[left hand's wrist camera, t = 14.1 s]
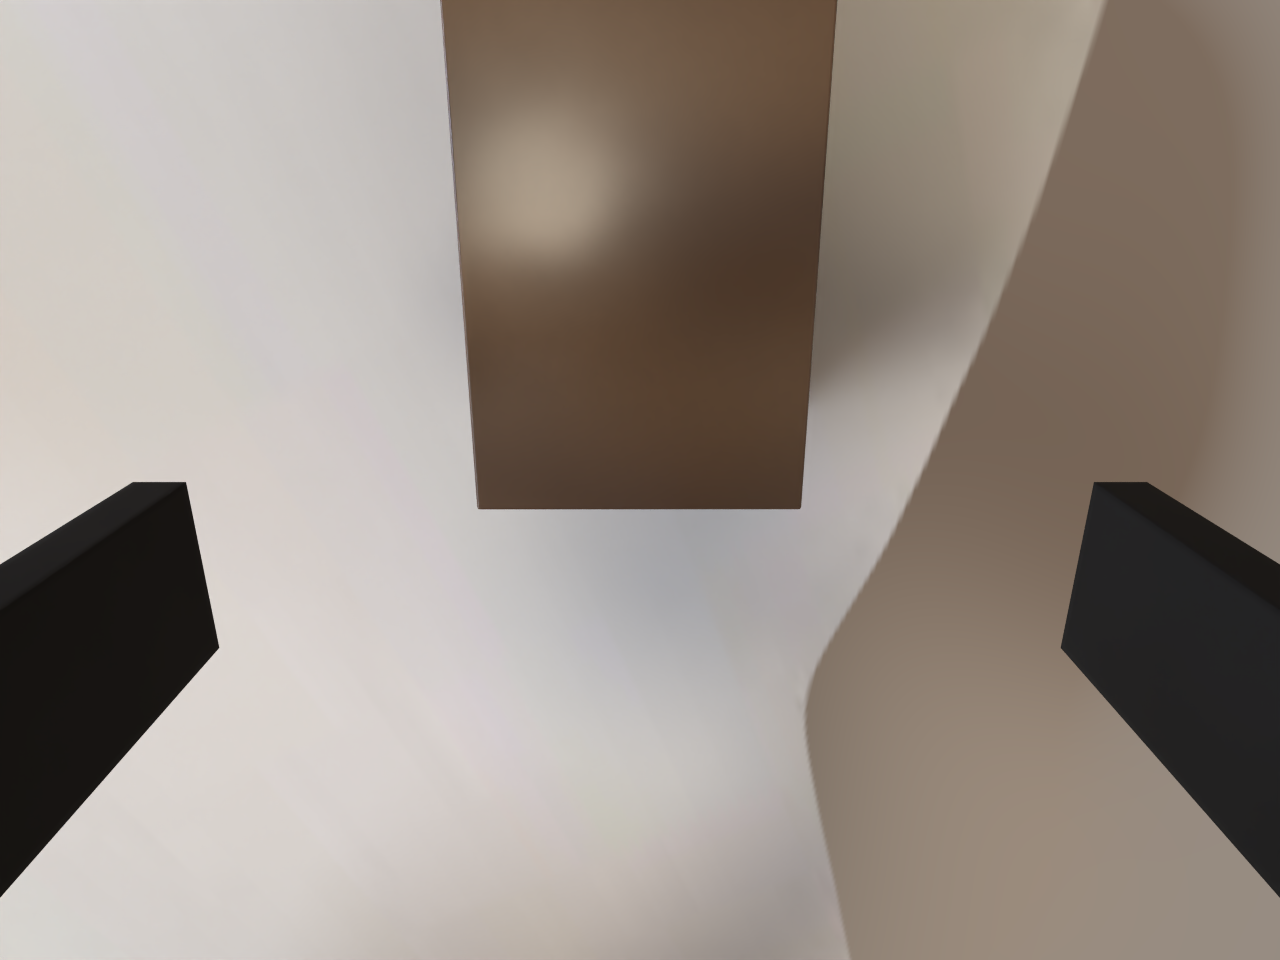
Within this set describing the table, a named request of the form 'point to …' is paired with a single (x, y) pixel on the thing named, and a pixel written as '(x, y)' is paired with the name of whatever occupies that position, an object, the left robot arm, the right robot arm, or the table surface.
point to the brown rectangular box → (638, 245)
